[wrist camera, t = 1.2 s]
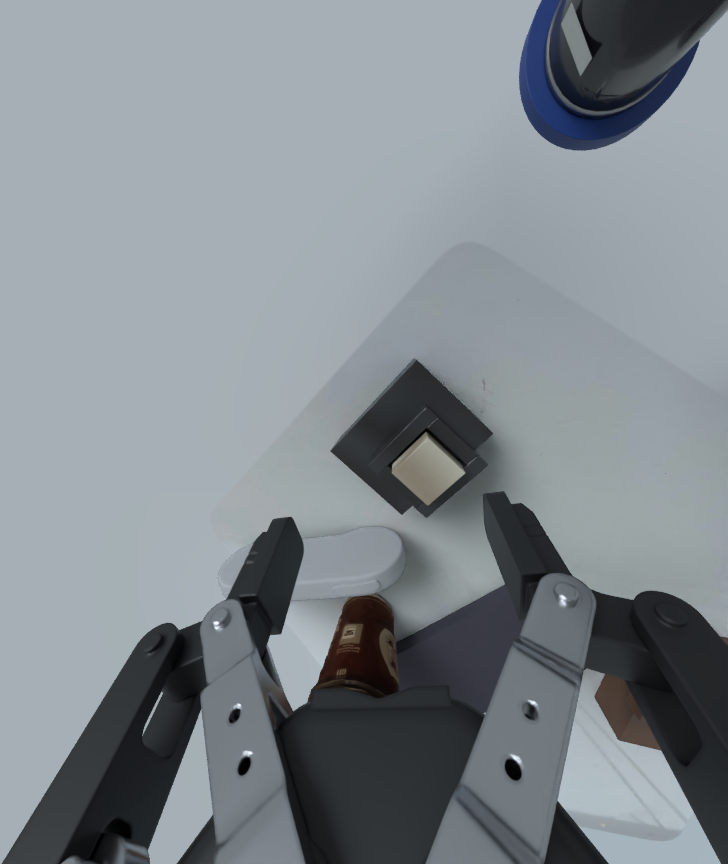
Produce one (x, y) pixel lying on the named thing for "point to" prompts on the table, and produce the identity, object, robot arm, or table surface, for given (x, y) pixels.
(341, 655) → the coffee cup
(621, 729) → the key block
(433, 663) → the notebook
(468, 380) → the table surface
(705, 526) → the table surface
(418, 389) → the key block
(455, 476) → the ivory key
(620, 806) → the table surface
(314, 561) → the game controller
